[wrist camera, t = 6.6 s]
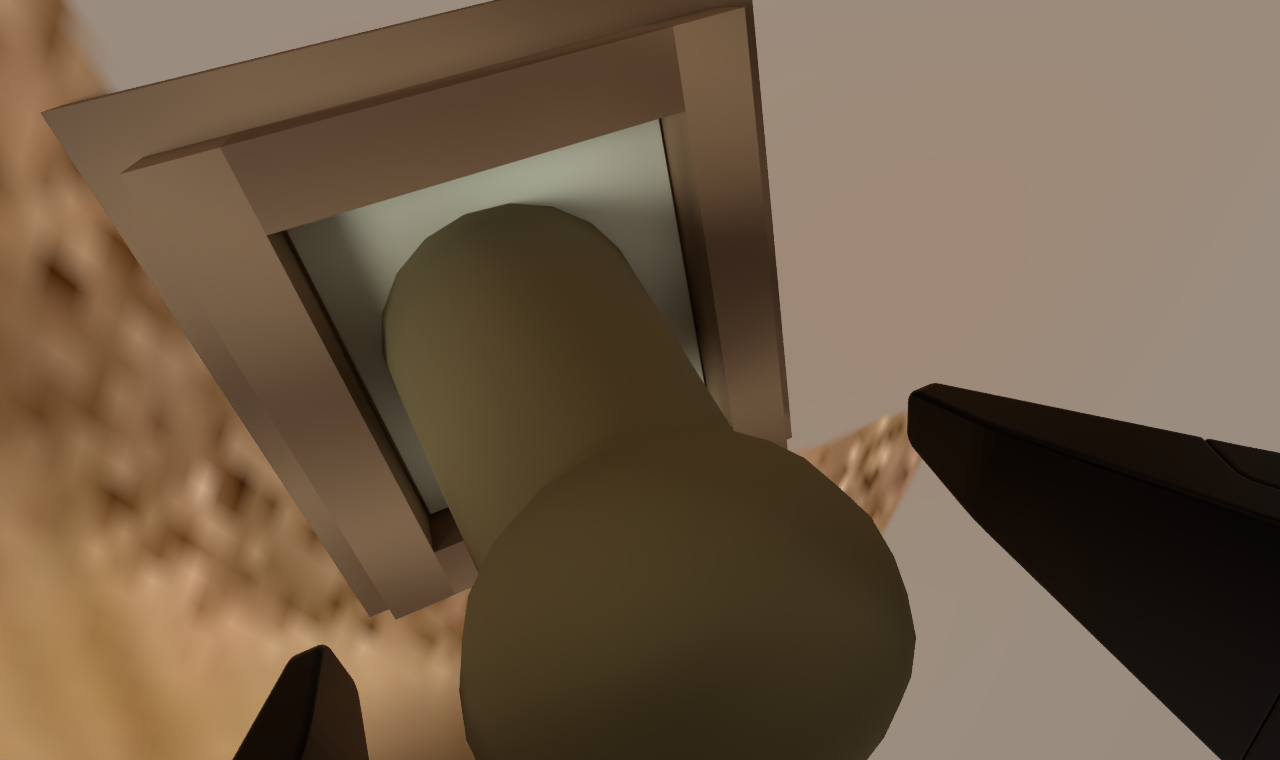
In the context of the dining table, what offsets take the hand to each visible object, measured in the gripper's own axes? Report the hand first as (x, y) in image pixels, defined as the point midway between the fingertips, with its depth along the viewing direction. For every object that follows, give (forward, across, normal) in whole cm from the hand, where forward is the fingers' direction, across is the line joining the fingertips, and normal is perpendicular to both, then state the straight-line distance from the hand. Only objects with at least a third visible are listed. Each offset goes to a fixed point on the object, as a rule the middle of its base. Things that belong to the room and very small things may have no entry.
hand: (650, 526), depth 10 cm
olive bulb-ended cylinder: (+8, 0, 0) cm, 8 cm away
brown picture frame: (+8, 0, 0) cm, 8 cm away
